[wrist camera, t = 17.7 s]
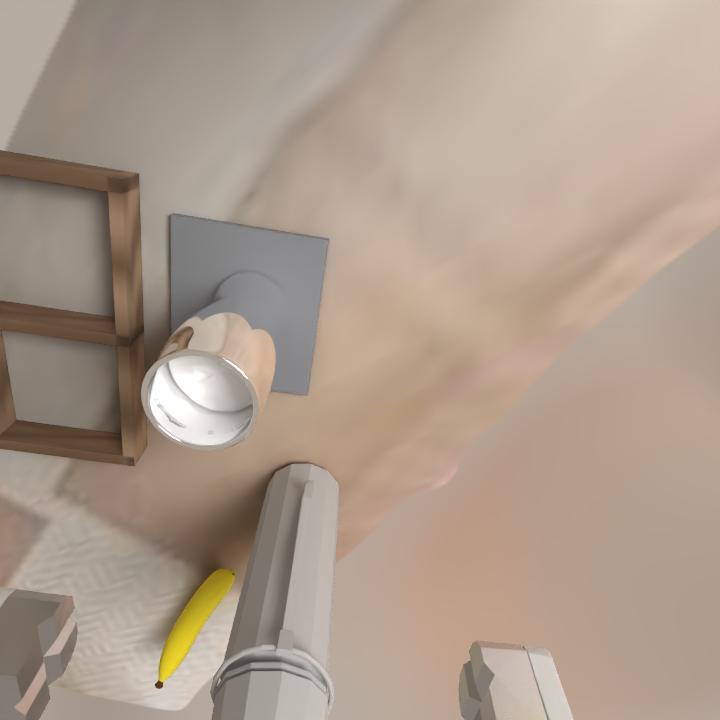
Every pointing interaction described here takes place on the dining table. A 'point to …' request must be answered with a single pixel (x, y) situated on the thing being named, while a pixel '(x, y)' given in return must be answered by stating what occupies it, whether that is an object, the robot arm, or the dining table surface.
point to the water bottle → (285, 606)
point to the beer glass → (218, 366)
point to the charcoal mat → (261, 255)
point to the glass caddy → (86, 322)
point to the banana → (193, 621)
